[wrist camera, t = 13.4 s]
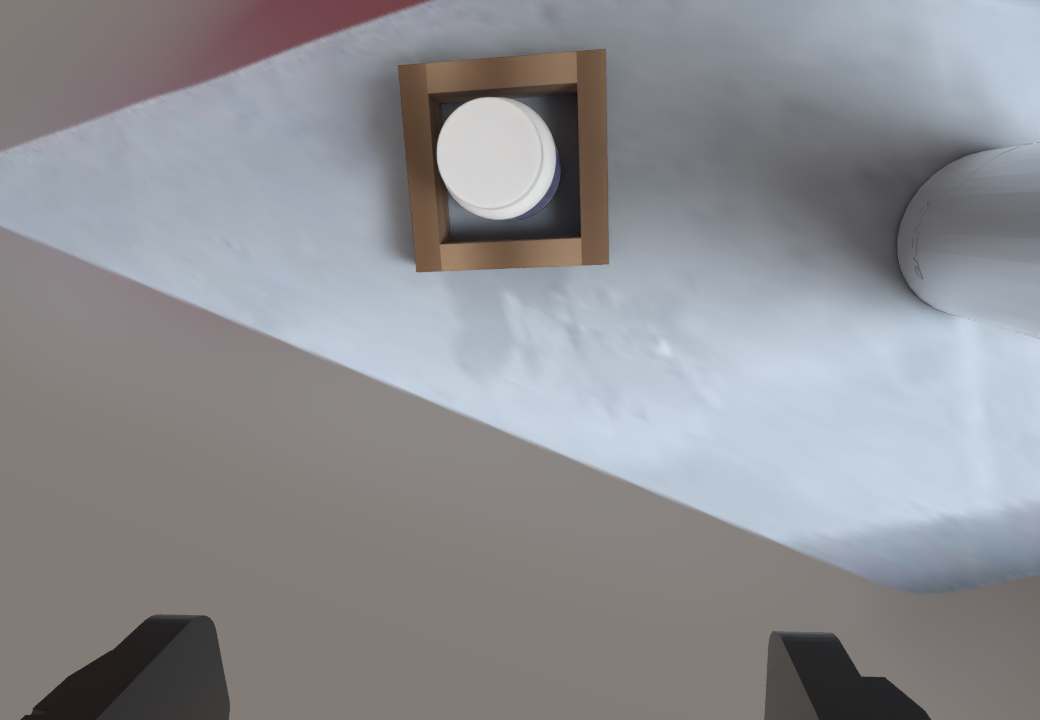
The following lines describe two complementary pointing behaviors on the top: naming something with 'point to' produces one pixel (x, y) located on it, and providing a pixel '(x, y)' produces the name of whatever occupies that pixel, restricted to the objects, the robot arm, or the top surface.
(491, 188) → the pill bottle
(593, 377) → the top surface
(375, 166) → the top surface
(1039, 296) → the robot arm
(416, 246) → the socket block
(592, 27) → the top surface
